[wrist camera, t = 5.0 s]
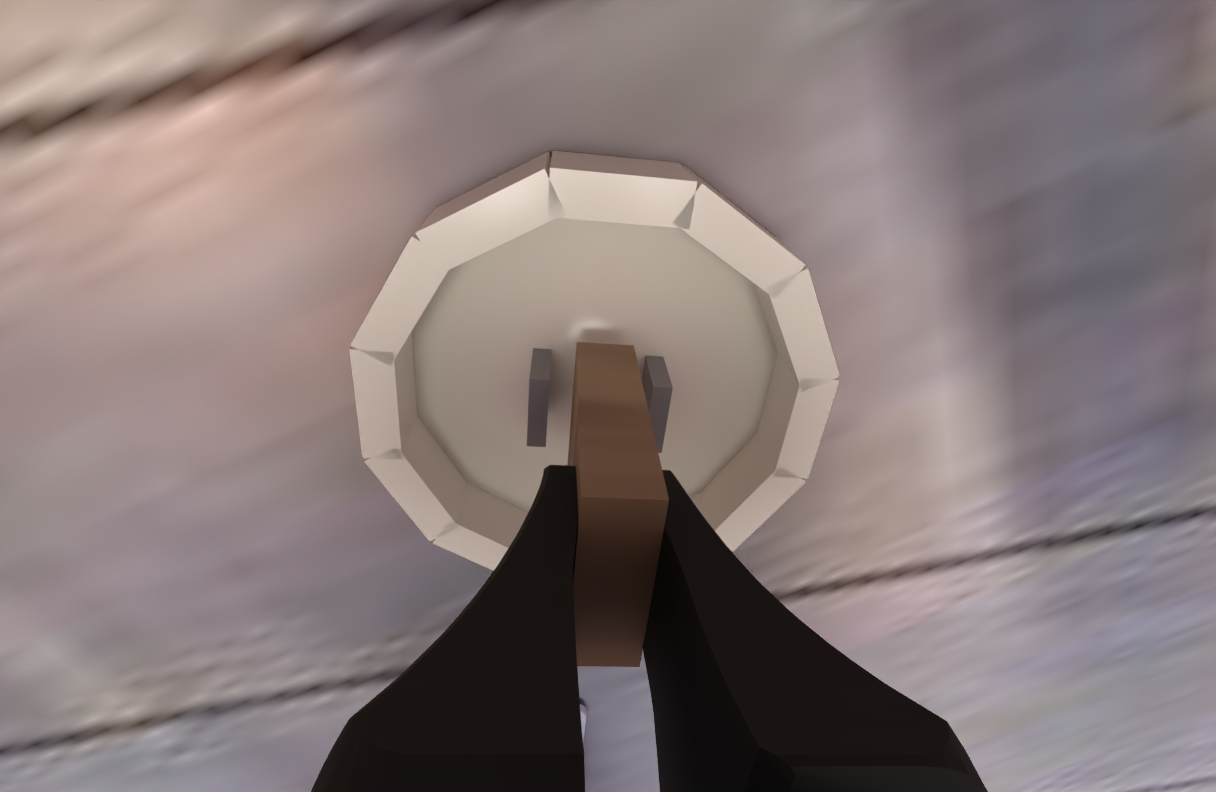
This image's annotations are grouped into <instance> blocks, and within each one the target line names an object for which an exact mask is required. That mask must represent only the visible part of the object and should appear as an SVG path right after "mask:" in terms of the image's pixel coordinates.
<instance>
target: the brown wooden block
mask: <svg viewBox="0 0 1216 792" xmlns="http://www.w3.org/2000/svg"><path fill="white" fill-rule="evenodd" d="M567 465H568V466H575V467H576V479H577V498H578V525H577V535H576V546H575V556H574V567H573V589H574V615H575V638H576V656H577V666H623V667H640V661H641V656H642V650H643V644H644V639H645V633H646V627H647V622H648V616H649V610H650V605H651V599H652V594H653V588H654V582H655V577H656V571H657V565H658V560H659V554H660V548H661V543H662V537H663V531H664V526H665V520H666V515H667V509H668V503H669V498H668V493H667V489H666V484H665V480H664V476H663V471H662V467H661V463H660V458H659V454H658V450H657V445H656V441H655V436H654V432H653V428H652V423H651V419H650V415H649V410H648V406H647V402H646V397H645V393H644V388H643V384H642V380H641V375H640V371H639V367H638V362H637V358H636V354H635V349H634V345H618V344H602V343H586V342H577V343H576V357H575V370H574V383H573V397H572V410H571V424H570V437H569V451H568V464H567Z"/></svg>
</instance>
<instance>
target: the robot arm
mask: <svg viewBox="0 0 1216 792" xmlns="http://www.w3.org/2000/svg"><path fill="white" fill-rule="evenodd" d="M662 471H663V476H664V480H665V484H666V489H667V493H668V498H669V503H668V509H667V515H666V520H665V526H664V531H663V537H662V543H661V548H660V554H659V560H658V565H657V571H656V577H655V582H654V588H653V594H652V599H651V605H650V610H649V616H648V622H647V627H646V633H645V639H644V644H643V652H644V658H645V663H646V668H647V674H648V679H649V685H650V690H651V697H652V704H653V712H654V722H655V734H656V745H657V757H658V770H659V783H660V792H988V791H987V789H986V788H985V786H984V784H983V782H982V781H981V779H980V777H979V775H978V773H977V771H976V769H975V767H974V766H973V764H972V762H971V760H970V758H969V756H968V754H967V753H966V751H965V749H964V747H963V746H962V744H961V743H960V741H959V740H958V738H957V736H956V735H955V733H954V732H953V730H952V729H951V727H950V726H949V724H948V723H947V721H945V720H944V719H942V718H940V717H939V716H937V715H936V714H934V713H932V712H931V711H929V710H927V709H926V708H924V707H922V706H921V705H919V704H917V703H916V702H914V701H913V700H911V699H909V698H908V697H906V696H904V695H903V694H901V693H899V692H898V691H896V690H895V689H893V688H891V687H890V686H888V685H887V684H885V683H883V682H882V681H880V680H879V679H878V678H876V677H875V676H873V675H872V674H870V673H869V672H868V671H866V670H865V669H863V668H862V667H860V666H859V665H857V664H856V663H855V662H853V661H852V660H850V659H849V658H848V657H846V656H845V655H844V654H842V653H841V652H840V651H838V650H837V649H835V648H834V647H833V646H831V645H830V644H829V643H828V642H826V641H825V640H824V639H823V638H821V637H820V636H819V635H818V634H817V633H815V632H814V631H813V630H812V629H810V628H809V627H808V626H807V625H805V624H804V623H803V622H802V621H801V620H799V619H798V618H797V617H796V616H795V615H794V614H793V613H791V612H790V611H789V610H788V609H787V608H786V607H785V606H784V605H783V604H781V603H780V602H779V601H778V600H777V599H776V598H775V597H774V596H773V595H772V594H771V593H770V592H769V591H768V590H767V589H766V588H765V587H764V586H763V585H761V583H760V582H759V581H758V580H757V579H756V578H755V577H754V576H753V575H752V574H751V573H750V572H749V571H748V570H747V569H746V567H745V566H744V565H743V564H742V563H741V562H740V561H739V560H738V558H737V557H736V556H735V555H734V554H733V553H732V551H731V550H730V549H729V548H728V547H727V546H726V544H725V543H724V542H723V541H722V539H721V538H720V537H719V536H718V534H717V533H716V532H715V530H714V529H713V528H712V527H711V525H710V524H709V523H708V522H707V520H706V519H705V518H704V516H703V515H702V514H701V512H700V511H699V509H698V508H697V507H696V505H695V504H694V503H693V501H692V500H691V498H690V497H689V495H688V494H687V493H686V491H685V490H684V488H683V487H682V485H681V484H680V482H679V481H678V479H677V478H676V476H675V475H674V474H673V473H672V472H671V470H662ZM577 525H578V498H577V479H576V467H575V466H568V465H549V466H547V467H546V468H545V469H544V472H543V477H542V481H541V484H540V487H539V490H538V492H537V495H536V497H535V499H534V502H533V504H532V506H531V508H530V510H529V512H528V514H527V516H526V518H525V520H524V522H523V524H522V526H521V528H520V530H519V531H518V533H517V535H516V537H515V538H514V540H513V542H512V543H511V545H510V546H509V548H508V550H507V551H506V553H505V555H504V556H503V558H502V559H501V561H500V562H499V564H498V565H497V567H496V568H495V570H494V571H493V573H492V574H491V576H490V577H489V578H488V580H487V581H486V582H485V584H484V585H483V586H482V588H481V589H480V590H479V592H478V593H477V594H476V596H475V597H474V598H473V599H472V601H471V602H470V603H469V604H468V605H467V606H466V608H465V609H464V610H463V611H462V612H461V614H460V615H459V616H458V617H457V618H456V619H455V621H454V622H453V623H452V624H451V625H450V626H449V627H448V628H447V630H446V631H445V632H444V633H443V634H442V635H441V636H440V637H439V638H438V639H437V640H436V641H435V642H434V643H433V644H432V645H431V646H430V647H429V648H428V649H427V650H426V651H425V652H424V653H423V654H422V655H421V656H420V657H419V658H418V659H417V660H416V661H415V662H414V663H413V664H412V665H411V666H410V667H409V668H408V669H407V670H406V671H405V672H404V673H402V674H401V675H400V676H399V677H398V678H397V679H396V680H395V681H394V682H392V683H391V684H390V685H389V686H388V687H386V688H385V689H384V690H383V691H382V692H381V693H379V694H378V695H377V696H376V697H375V698H373V699H372V700H371V701H370V702H369V703H368V704H366V705H365V706H364V707H363V708H362V709H360V710H359V711H358V712H357V713H356V714H354V715H353V716H352V717H351V718H350V719H349V720H348V722H347V724H346V725H345V727H344V729H343V730H342V732H341V734H340V735H339V737H338V739H337V741H336V742H335V744H334V746H333V748H332V750H331V751H330V753H329V755H328V757H327V759H326V761H325V763H324V765H323V767H322V769H321V771H320V773H319V775H318V778H317V780H316V782H315V784H314V786H313V788H312V791H311V792H585V775H584V748H583V741H584V733H585V726H586V718H587V716H586V708H585V707H584V706H583V705H581V704H580V701H579V688H578V672H577V656H576V638H575V615H574V589H573V567H574V556H575V546H576V535H577Z"/></svg>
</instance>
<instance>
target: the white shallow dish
mask: <svg viewBox="0 0 1216 792" xmlns="http://www.w3.org/2000/svg"><path fill="white" fill-rule="evenodd" d="M577 342H586V343H602V344H618V345H634V349H635V354H636V358H637V362H638V367H639V371H640V375H641V380H642V384H643V388H644V393H645V397H646V402H647V406H648V410H649V415H650V419H651V423H652V428H653V432H654V436H655V441H656V445H657V450H658V454H659V458H660V463H661V467H662V470H671V472H672V473H673V474H674V475H675V476H676V478H677V479H678V481H679V482H680V484H681V485H682V487H683V488H684V490H685V491H686V493H687V494H688V495H689V497H690V498H691V500H692V501H693V503H694V504H695V505H696V507H697V508H698V509H699V511H700V512H701V514H702V515H703V516H704V518H705V519H706V520H707V522H708V523H709V524H710V525H711V527H712V528H713V529H714V530H715V532H716V533H717V534H718V536H719V537H720V538H721V539H722V541H723V542H724V543H725V544H726V546H727V547H728V548H729V549H730V550H731V551H734V550H735V549H736V548H737V547H738V546H739V545H741V544H742V543H743V542H744V541H745V540H746V539H747V538H748V537H749V536H750V535H751V534H752V533H753V532H754V531H755V530H756V529H757V528H758V527H759V526H760V525H761V524H763V523H764V522H765V521H766V520H767V519H768V518H769V517H770V516H771V515H772V514H773V513H774V512H775V511H776V510H777V509H778V508H779V507H780V506H781V505H782V504H783V503H785V502H786V501H787V500H788V499H789V498H790V497H791V496H792V495H793V494H794V493H795V492H796V491H797V490H798V489H799V488H800V487H801V486H802V485H803V484H804V483H805V482H806V480H805V479H808V478H809V475H810V472H811V469H812V465H813V462H814V459H815V456H816V453H817V450H818V447H819V444H820V441H821V437H822V434H823V431H824V428H825V425H826V422H827V419H828V416H829V412H830V409H831V406H832V403H833V400H834V397H835V394H836V391H837V388H838V384H839V381H840V380H839V379H838V377H840V375H839V372H838V368H837V365H836V362H835V358H834V355H833V351H832V348H831V345H830V341H829V338H828V334H827V331H826V328H825V324H824V321H823V317H822V314H821V310H820V307H819V304H818V300H817V297H816V293H815V290H814V287H813V283H812V280H811V276H810V273H809V270H808V268H807V267H806V266H805V264H804V263H803V262H802V261H801V260H800V259H799V258H798V257H796V256H795V255H794V254H793V253H792V252H791V251H790V250H789V249H788V248H786V247H785V246H784V245H783V244H782V243H781V242H780V241H779V240H778V239H777V238H775V237H774V236H773V235H772V234H771V233H769V232H768V231H767V230H766V229H764V228H763V227H762V226H760V225H759V224H758V223H757V222H755V221H754V220H753V219H752V218H750V217H749V216H748V215H747V214H745V213H744V212H743V211H741V210H740V209H739V208H738V207H736V206H735V205H734V204H733V203H731V202H730V201H729V200H728V199H726V198H725V197H724V196H722V195H721V194H720V193H719V192H717V191H716V190H715V189H714V188H712V187H711V186H710V185H708V184H707V183H706V182H705V181H703V180H702V179H701V178H700V177H698V176H697V175H696V174H695V173H693V172H692V171H691V170H689V169H688V168H687V167H686V166H684V165H681V164H680V163H677V162H667V161H657V160H646V159H636V158H626V157H615V156H605V155H595V154H584V153H574V152H564V151H552V157H551V156H550V154H549V152H546V153H544V154H542V155H540V156H538V157H536V158H534V159H532V160H530V161H528V162H526V163H524V164H522V165H520V166H518V167H516V168H514V169H512V170H510V171H508V172H506V173H504V174H502V175H500V176H498V177H496V178H494V179H492V180H490V181H488V182H486V183H484V184H482V185H480V186H478V187H476V188H474V189H472V190H470V191H468V192H466V193H464V194H462V195H460V196H458V197H456V198H454V199H452V200H450V201H448V202H446V203H444V204H442V205H440V206H438V207H437V208H436V209H435V210H433V212H432V213H431V214H430V215H429V216H428V218H427V219H426V220H425V221H424V222H423V223H422V225H421V226H420V227H419V228H418V229H417V230H416V232H415V233H414V234H413V235H412V236H411V238H410V240H409V242H408V244H407V245H406V247H405V249H404V251H403V252H402V254H401V256H400V258H399V260H398V261H397V263H396V265H395V267H394V268H393V270H392V272H391V274H390V276H389V277H388V279H387V281H386V283H385V284H384V286H383V288H382V290H381V292H380V293H379V295H378V297H377V299H376V300H375V302H374V304H373V306H372V308H371V309H370V311H369V313H368V315H367V316H366V318H365V320H364V322H363V324H362V325H361V327H360V329H359V331H358V332H357V334H356V336H355V338H354V340H353V341H352V343H351V346H352V347H351V348H350V349H349V350H350V358H351V366H352V375H353V383H354V392H355V400H356V408H357V417H358V425H359V433H360V442H361V450H362V458H365V460H364V462H365V463H366V464H367V466H368V467H369V468H370V469H371V470H372V472H373V473H374V474H375V475H376V477H377V478H378V479H379V480H380V481H381V483H382V484H383V485H384V486H385V488H386V489H387V490H388V491H389V492H390V494H391V495H392V496H393V497H394V499H395V500H396V501H397V502H398V503H399V505H400V506H401V507H402V508H403V509H404V511H405V512H406V513H407V514H408V516H409V517H410V518H411V519H412V520H413V522H414V523H415V524H416V525H417V527H418V528H419V529H420V530H421V531H422V533H423V534H424V535H425V536H426V538H427V539H428V540H429V541H431V540H433V544H435V545H437V546H439V547H442V548H444V549H446V550H448V551H451V552H453V553H455V554H457V555H459V556H462V557H464V558H466V559H468V560H471V561H473V562H475V563H477V564H480V565H482V566H484V567H486V568H489V569H491V570H493V571H494V570H495V568H496V567H497V565H498V564H499V562H500V561H501V559H502V558H503V556H504V555H505V553H506V551H507V550H508V548H509V546H510V545H511V543H512V542H513V540H514V538H515V537H516V535H517V533H518V531H519V530H520V528H521V526H522V524H523V522H524V520H525V518H526V516H527V514H528V512H529V510H530V508H531V506H532V504H533V502H534V499H535V497H536V495H537V492H538V490H539V487H540V484H541V481H542V477H543V472H544V469H545V468H546V467H547V466H549V465H567V464H568V451H569V437H570V424H571V410H572V397H573V383H574V370H575V357H576V343H577Z"/></svg>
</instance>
